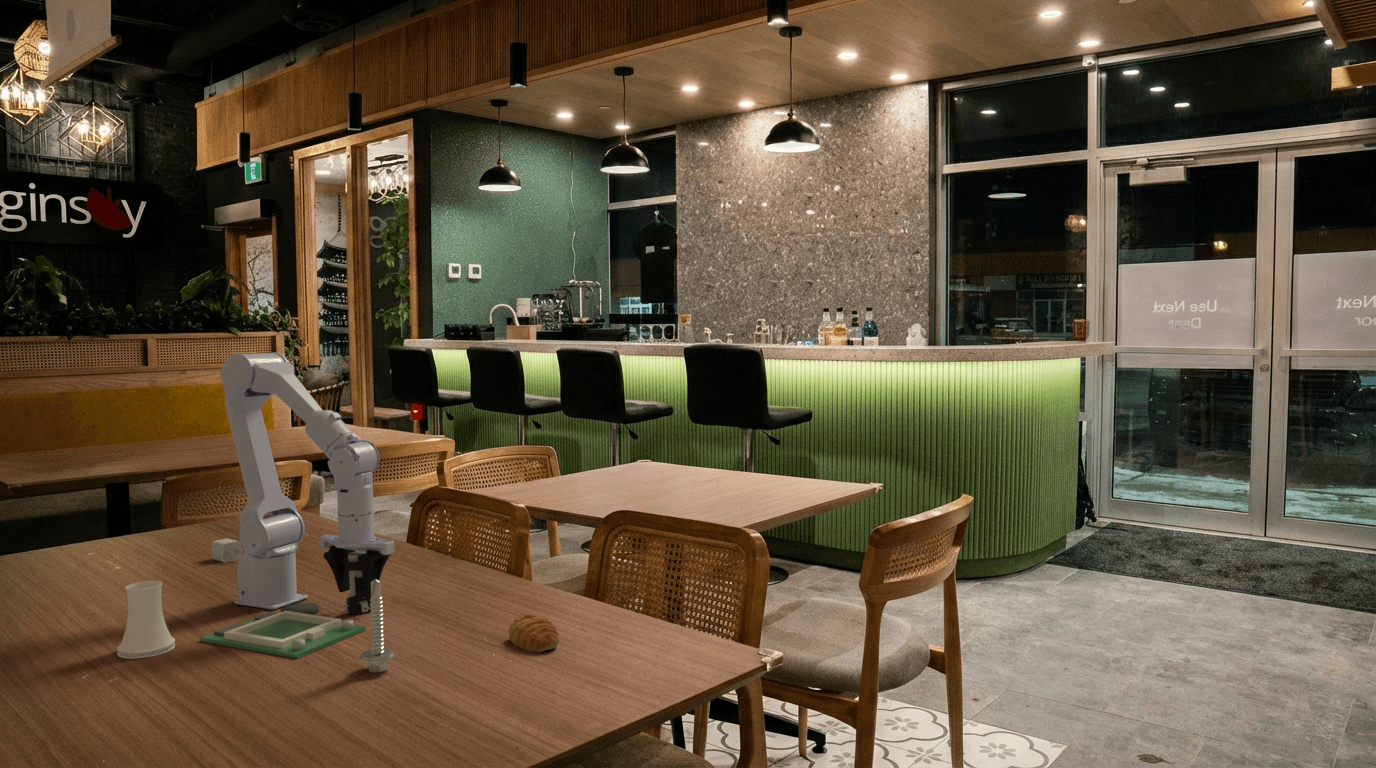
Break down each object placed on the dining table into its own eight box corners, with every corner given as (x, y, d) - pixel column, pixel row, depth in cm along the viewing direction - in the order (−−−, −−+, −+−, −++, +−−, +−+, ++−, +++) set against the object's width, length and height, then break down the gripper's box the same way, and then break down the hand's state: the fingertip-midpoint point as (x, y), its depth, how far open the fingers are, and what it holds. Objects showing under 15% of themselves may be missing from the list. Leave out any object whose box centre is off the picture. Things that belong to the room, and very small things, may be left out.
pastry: (570, 649, 141) (569, 624, 141) (528, 659, 137) (528, 633, 137) (543, 632, 149) (543, 609, 149) (503, 641, 145) (503, 617, 145)
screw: (403, 667, 133) (375, 678, 129) (380, 661, 136) (352, 671, 132) (400, 577, 132) (373, 585, 128) (377, 572, 135) (349, 580, 131)
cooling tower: (115, 662, 136) (112, 594, 135) (119, 646, 143) (116, 582, 142) (174, 653, 140) (172, 587, 139) (175, 639, 146) (173, 575, 146)
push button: (344, 619, 155) (341, 559, 155) (332, 613, 159) (330, 554, 159) (383, 611, 160) (380, 552, 159) (371, 605, 164) (368, 548, 163)
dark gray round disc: (272, 617, 158) (272, 610, 158) (300, 608, 163) (300, 601, 163) (299, 622, 156) (299, 614, 155) (326, 611, 161) (326, 605, 161)
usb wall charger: (230, 556, 200) (229, 537, 200) (248, 561, 196) (247, 542, 196) (211, 560, 197) (211, 541, 196) (229, 565, 193) (228, 545, 192)
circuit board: (200, 641, 145) (199, 629, 145) (272, 615, 158) (272, 605, 158) (297, 658, 137) (297, 646, 137) (365, 630, 150) (365, 619, 150)
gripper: (304, 514, 158) (307, 594, 159) (372, 520, 152) (374, 603, 153) (336, 507, 164) (338, 583, 165) (402, 513, 158) (403, 592, 159)
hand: (357, 592), depth 159 cm, fingers closed on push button, 5 cm apart
